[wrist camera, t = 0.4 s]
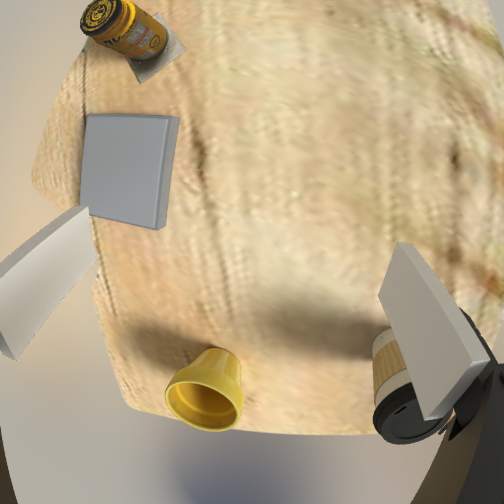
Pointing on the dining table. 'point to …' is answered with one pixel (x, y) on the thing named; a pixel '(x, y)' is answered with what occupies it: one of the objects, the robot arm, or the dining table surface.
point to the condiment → (132, 35)
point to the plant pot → (208, 391)
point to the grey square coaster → (128, 167)
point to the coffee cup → (397, 396)
